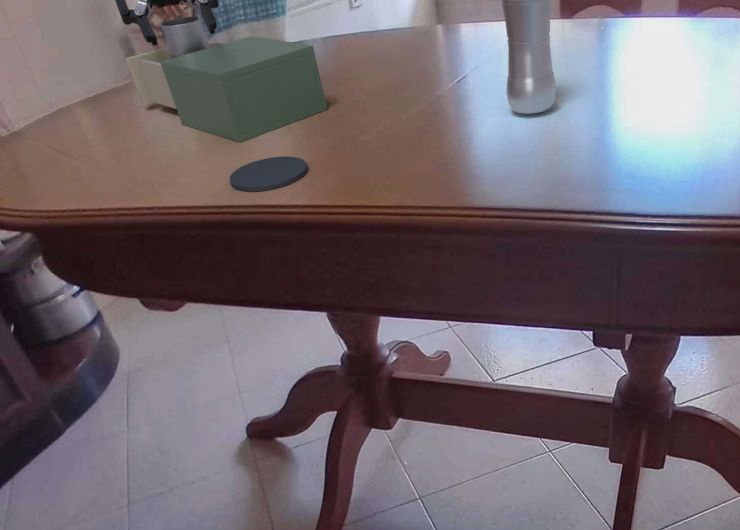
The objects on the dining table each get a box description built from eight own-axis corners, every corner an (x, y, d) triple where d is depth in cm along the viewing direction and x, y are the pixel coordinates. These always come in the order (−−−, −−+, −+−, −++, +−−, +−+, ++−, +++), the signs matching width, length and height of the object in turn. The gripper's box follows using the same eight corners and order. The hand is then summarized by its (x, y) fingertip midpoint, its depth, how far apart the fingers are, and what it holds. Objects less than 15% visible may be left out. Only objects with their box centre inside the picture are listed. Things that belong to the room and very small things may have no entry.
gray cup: (195, 98, 105) (171, 27, 99) (176, 93, 109) (151, 24, 103) (230, 87, 109) (208, 17, 103) (210, 82, 112) (188, 14, 106)
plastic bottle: (499, 118, 91) (485, -58, 79) (520, 101, 96) (509, -67, 84) (545, 121, 89) (537, -60, 77) (564, 103, 94) (559, -69, 82)
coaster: (258, 198, 77) (256, 193, 77) (216, 181, 83) (214, 176, 82) (323, 169, 83) (321, 164, 82) (279, 156, 88) (278, 151, 87)
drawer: (130, 100, 112) (113, 55, 108) (206, 77, 120) (192, 34, 116) (188, 118, 101) (170, 68, 97) (267, 91, 109) (254, 44, 105)
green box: (181, 124, 103) (159, 61, 97) (267, 95, 111) (250, 36, 106) (239, 142, 93) (218, 74, 88) (327, 109, 102) (312, 45, 96)
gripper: (86, -68, 100) (130, 29, 99) (187, -83, 105) (230, 9, 104) (98, -30, 107) (139, 62, 106) (191, -45, 112) (232, 42, 111)
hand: (184, 36), depth 105 cm, fingers open, 8 cm apart
